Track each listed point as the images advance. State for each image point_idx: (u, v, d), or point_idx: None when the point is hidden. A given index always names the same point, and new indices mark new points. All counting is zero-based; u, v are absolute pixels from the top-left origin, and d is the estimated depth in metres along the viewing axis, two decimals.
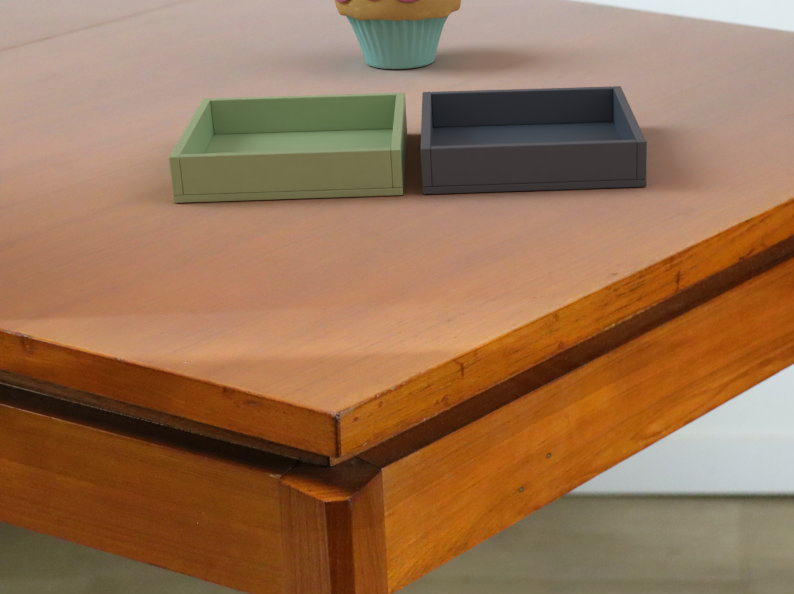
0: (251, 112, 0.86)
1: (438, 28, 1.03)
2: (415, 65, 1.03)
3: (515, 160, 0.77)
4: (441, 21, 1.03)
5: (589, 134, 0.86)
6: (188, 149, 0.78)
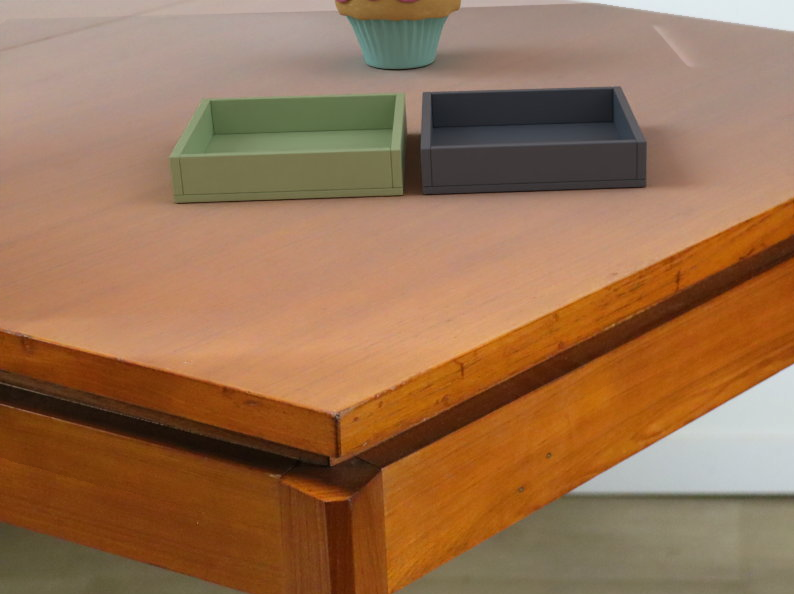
0: (251, 112, 0.86)
1: (438, 28, 1.03)
2: (415, 65, 1.03)
3: (515, 160, 0.77)
4: (441, 21, 1.03)
5: (589, 134, 0.86)
6: (188, 149, 0.78)
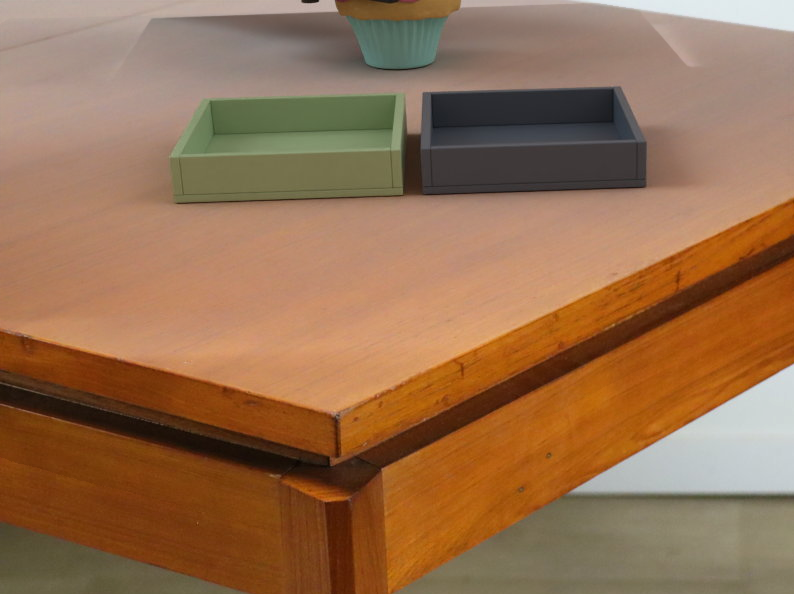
0: (251, 112, 0.86)
1: (438, 28, 1.03)
2: (415, 65, 1.03)
3: (515, 160, 0.77)
4: (441, 21, 1.03)
5: (589, 134, 0.86)
6: (188, 149, 0.78)
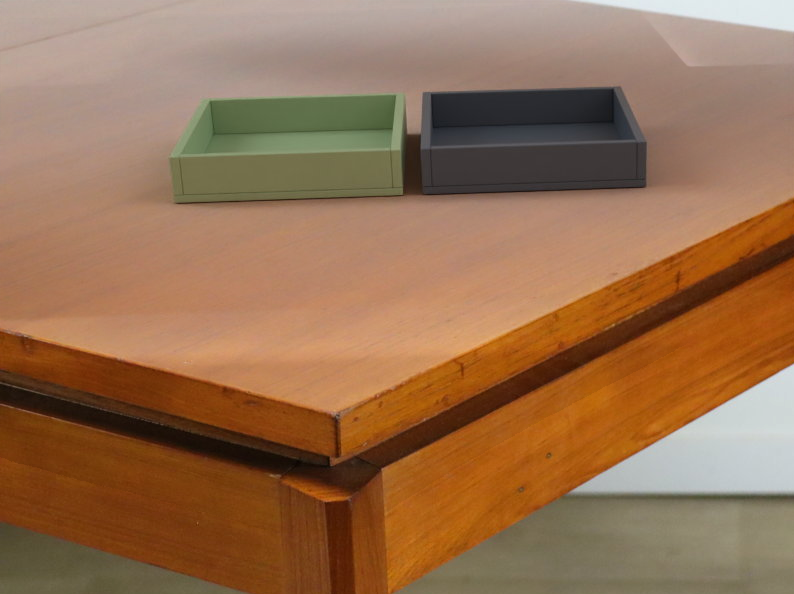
0: (251, 112, 0.86)
1: None
2: None
3: (515, 160, 0.77)
4: None
5: (589, 134, 0.86)
6: (188, 149, 0.78)
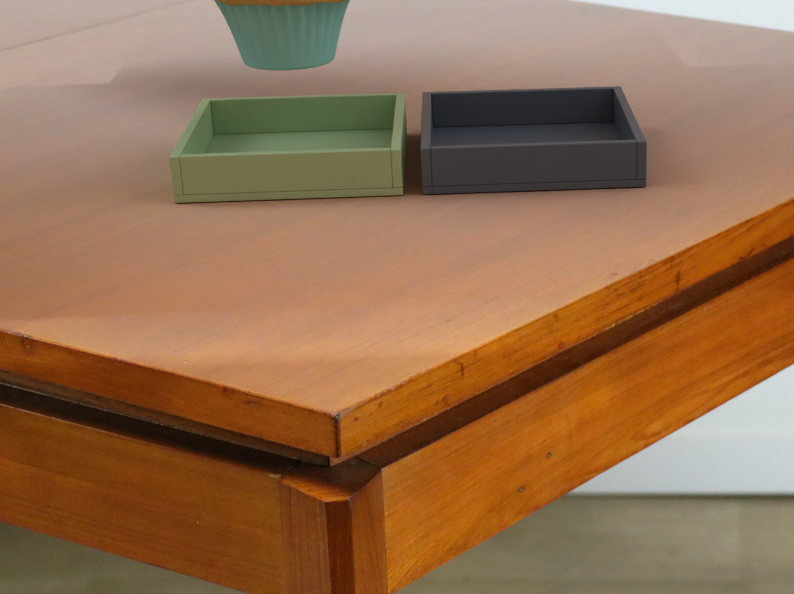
0: (251, 112, 0.86)
1: (336, 16, 0.78)
2: (306, 65, 0.78)
3: (515, 160, 0.77)
4: (340, 7, 0.77)
5: (589, 134, 0.86)
6: (188, 149, 0.78)
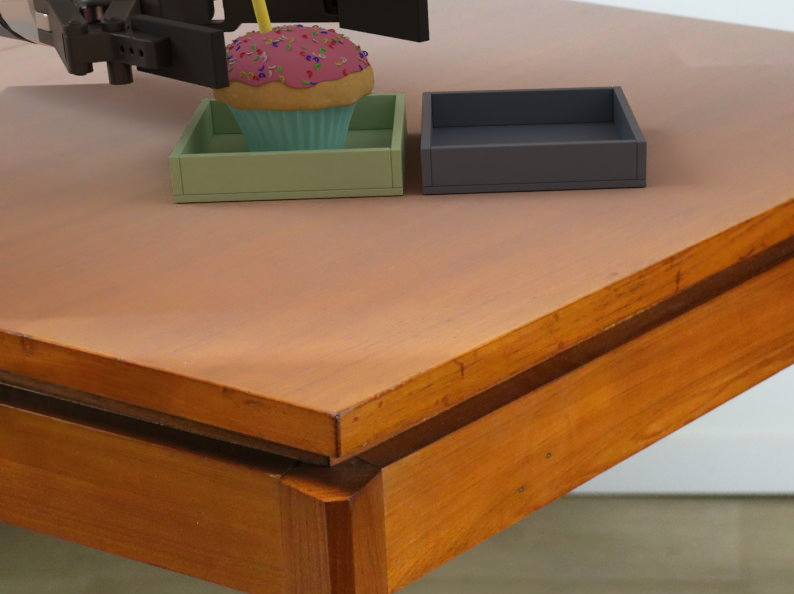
0: None
1: (344, 118, 0.80)
2: None
3: (515, 160, 0.77)
4: (348, 109, 0.80)
5: (589, 134, 0.86)
6: (188, 149, 0.78)
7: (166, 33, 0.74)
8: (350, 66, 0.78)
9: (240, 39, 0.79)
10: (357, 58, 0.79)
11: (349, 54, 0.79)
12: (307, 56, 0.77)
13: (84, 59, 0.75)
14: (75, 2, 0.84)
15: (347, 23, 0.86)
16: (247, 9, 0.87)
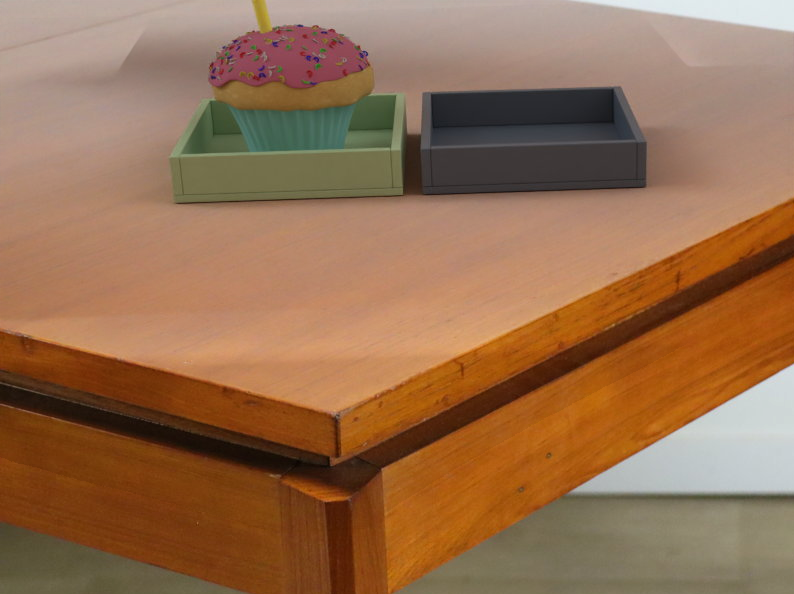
0: None
1: (344, 118, 0.80)
2: None
3: (515, 160, 0.77)
4: (348, 109, 0.80)
5: (589, 134, 0.86)
6: (188, 149, 0.78)
7: None
8: (350, 66, 0.78)
9: (240, 39, 0.79)
10: (357, 58, 0.79)
11: (349, 54, 0.79)
12: (307, 56, 0.77)
13: None
14: None
15: None
16: None
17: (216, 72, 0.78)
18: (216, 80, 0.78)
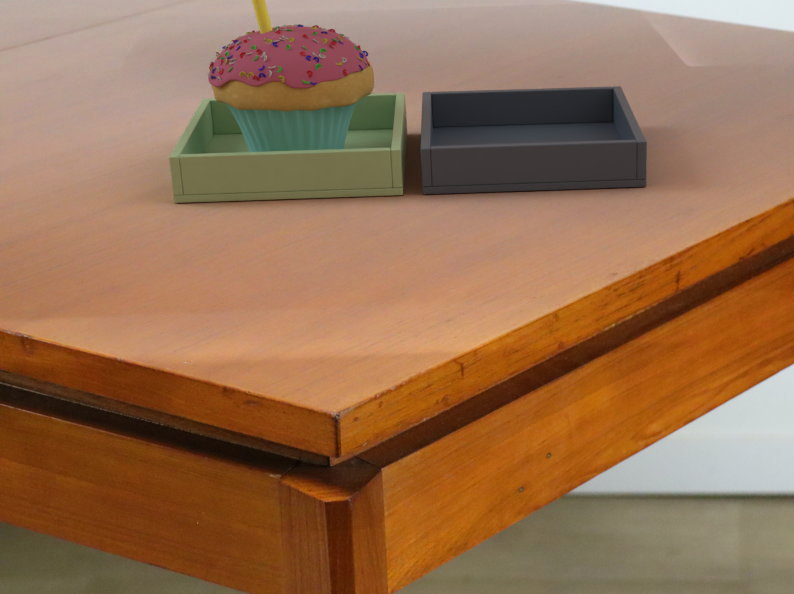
0: None
1: (344, 118, 0.80)
2: None
3: (515, 160, 0.77)
4: (348, 109, 0.80)
5: (589, 134, 0.86)
6: (188, 149, 0.78)
7: None
8: (350, 66, 0.78)
9: (240, 39, 0.79)
10: (357, 58, 0.79)
11: (350, 54, 0.79)
12: (307, 56, 0.77)
13: None
14: None
15: None
16: None
17: (216, 72, 0.78)
18: (216, 80, 0.78)
